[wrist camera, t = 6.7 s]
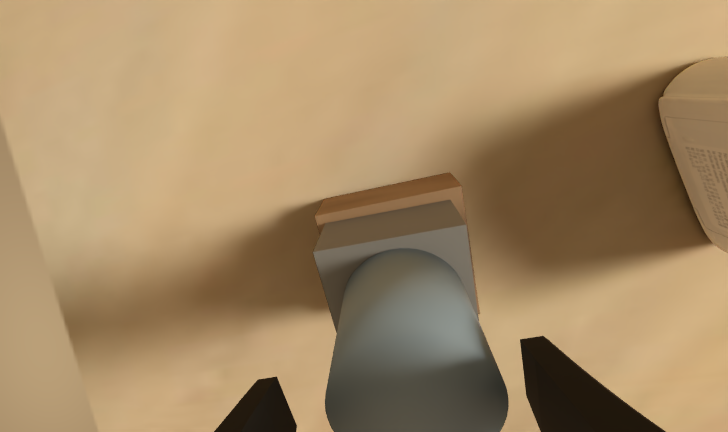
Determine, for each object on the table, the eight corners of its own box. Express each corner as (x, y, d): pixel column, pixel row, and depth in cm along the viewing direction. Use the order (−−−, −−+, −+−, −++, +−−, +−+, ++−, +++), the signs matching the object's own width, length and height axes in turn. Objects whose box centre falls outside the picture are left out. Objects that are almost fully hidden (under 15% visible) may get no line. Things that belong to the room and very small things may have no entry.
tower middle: (465, 308, 18) (482, 352, 15) (353, 325, 19) (347, 370, 16) (450, 199, 16) (466, 224, 13) (325, 223, 17) (312, 252, 14)
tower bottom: (465, 282, 21) (479, 313, 18) (354, 301, 22) (349, 334, 19) (448, 171, 19) (461, 186, 16) (325, 197, 20) (314, 216, 16)
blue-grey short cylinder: (472, 343, 15) (514, 462, 10) (358, 359, 15) (347, 478, 11) (457, 238, 13) (500, 320, 8) (330, 260, 14) (304, 349, 9)
